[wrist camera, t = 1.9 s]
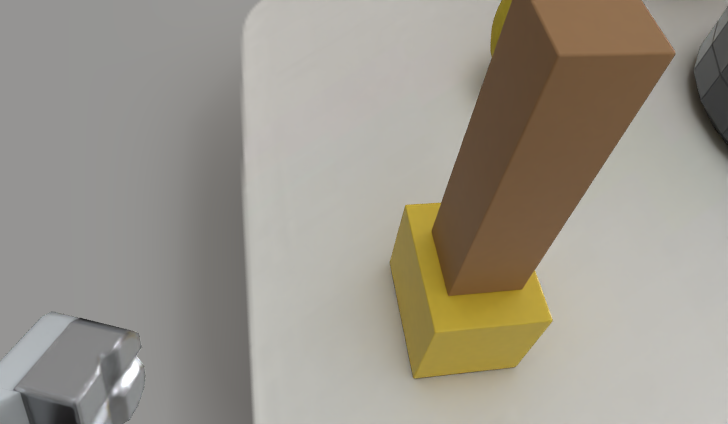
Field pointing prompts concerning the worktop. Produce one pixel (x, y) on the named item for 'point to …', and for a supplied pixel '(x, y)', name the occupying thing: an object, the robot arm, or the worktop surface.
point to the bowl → (715, 75)
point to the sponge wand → (520, 179)
